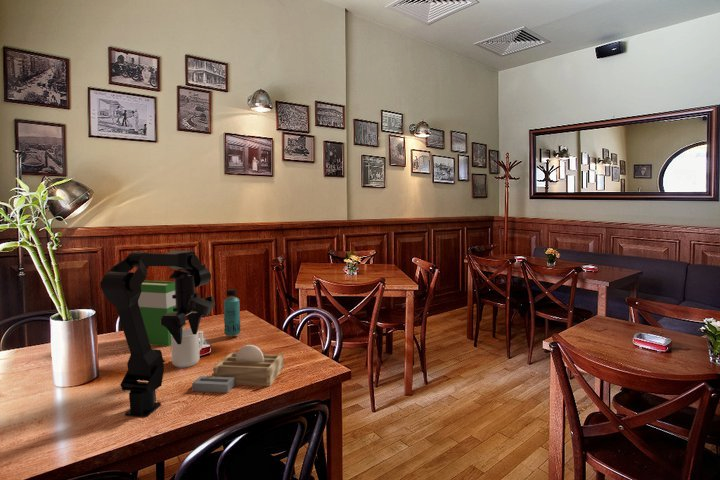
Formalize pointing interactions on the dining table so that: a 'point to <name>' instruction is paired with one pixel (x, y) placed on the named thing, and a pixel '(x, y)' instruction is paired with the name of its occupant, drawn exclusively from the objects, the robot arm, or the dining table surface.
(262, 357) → the plate
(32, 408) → the dining table surface
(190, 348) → the mug
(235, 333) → the beverage bottle
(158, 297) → the green cereal box
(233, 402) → the dining table surface
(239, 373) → the rack
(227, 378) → the stand
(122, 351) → the dining table surface
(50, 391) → the dining table surface
